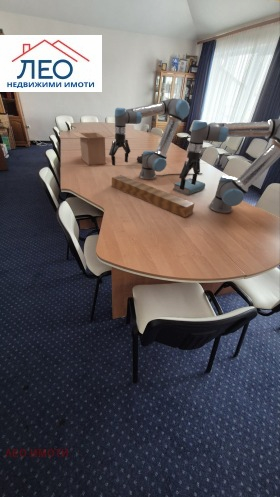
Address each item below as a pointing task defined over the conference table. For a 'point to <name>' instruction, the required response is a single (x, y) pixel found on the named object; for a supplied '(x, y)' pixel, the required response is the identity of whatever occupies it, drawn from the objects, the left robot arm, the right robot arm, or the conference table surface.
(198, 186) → the book
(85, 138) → the box
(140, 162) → the laser sight
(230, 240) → the conference table surface
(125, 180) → the long wooden beam
